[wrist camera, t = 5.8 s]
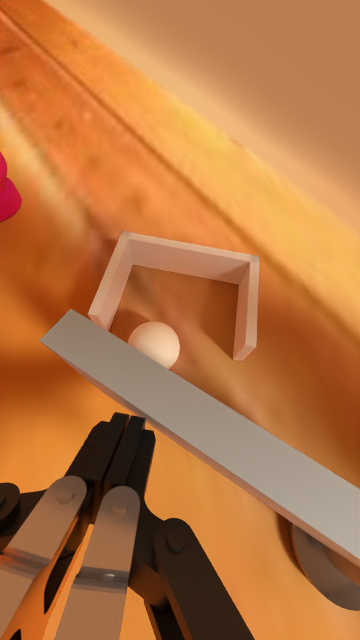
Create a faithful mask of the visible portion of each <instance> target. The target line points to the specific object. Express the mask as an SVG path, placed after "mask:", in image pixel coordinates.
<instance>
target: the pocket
mask: <svg viewBox="0 0 360 640" xmlns="http://www.w3.org/2000/svg"><path fill="white" fill-rule="evenodd" d="M259 260H260V256H255V255H249V254H244V253H239V252H233V251H228V250H223V249H217V248H212V247H207V246H201V245H196V244H191V243H185V242H180V241H175V240H169V239H164V238H159V237H153V236H148V235H143V234H137V233H132V232H126V231H122V233H121V235H120V238H119V240H118V243H117V245H116V247H115V250H114V252H113V254H112V257H111V259H110V262H109V264H108V266H107V269H106V271H105V274H104V276H103V278H102V281H101V283H100V286H99V288H98V290H97V293H96V295H95V298H94V300H93V302H92V305H91V307H90V309H89V312H88V315H89V317H90V319H91V321H92V322H94V323H95V324H97V325H99V326H100V327H102V328H103V329H105V330H107V331H108V332H109V330H110V327H111V325H112V322H113V319H114V316H115V313H116V311H117V308H118V305H119V302H120V299H121V297H122V294H123V291H124V288H125V285H126V283H127V280H128V277H129V274H130V271H131V268H132V266H133V265H138V266H143V267H148V268H154V269H159V270H164V271H169V272H175V273H180V274H185V275H190V276H196V277H201V278H206V279H211V280H217V281H222V282H227V283H232V284H238V285H239V290H238V302H237V314H236V326H235V338H234V350H233V360H237V361H243V360H244V359H245V358H246V357H247V356H248V355H249V354H250V353H251V352H252V351H253V350H254V349H255V348H256V342H257V314H258V287H259Z"/></svg>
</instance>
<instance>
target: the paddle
mask: <svg viewBox="0 0 360 640" xmlns="http://www.w3.org/2000/svg"><path fill="white" fill-rule="evenodd" d="M39 341H40V342H41V343H43V344H44V345H45V346H46V347H48V348H49V349H50V350H51V351H53V352H54V353H55V354H56V355H57V356H59V357H60V358H61V359H62V360H64V361H65V362H66V363H67V364H69V365H70V366H71V367H72V368H74V369H75V370H76V371H77V372H78V373H80V374H81V375H82V376H83V377H85V378H86V379H87V380H88V381H90V382H91V383H92V384H93V385H95V386H96V387H97V388H98V389H99V390H101V391H102V392H103V393H105V394H106V395H108V396H109V397H111V398H112V399H113V400H115V401H116V402H118V403H119V404H121V405H122V406H124V407H125V408H127V409H128V410H129V411H131V412H132V413H134V414H135V415H137V416H138V417H143V418H146V421H145V422H147V423H148V424H150V425H151V426H153V427H154V428H156V429H157V430H158V431H160V432H161V433H163V434H164V435H166V436H167V437H169V438H170V439H171V440H173V441H174V442H176V443H177V444H179V445H180V446H182V447H183V448H185V449H186V450H187V451H189V452H190V453H192V454H193V455H195V456H196V457H198V458H199V459H200V460H202V461H203V462H205V463H206V464H208V465H209V466H211V467H212V468H213V469H215V470H216V471H218V472H219V473H221V474H222V475H224V476H225V477H227V478H228V479H229V480H231V481H232V482H234V483H235V484H237V485H238V486H240V487H241V488H242V489H244V490H245V491H247V492H248V493H250V494H251V495H253V496H254V497H256V498H257V499H258V500H260V501H261V502H263V503H264V504H266V505H267V506H269V507H270V508H271V509H273V510H274V511H276V512H277V513H279V514H280V515H282V516H283V517H285V518H286V519H287V520H289V521H290V522H292V523H293V524H295V525H296V526H298V527H299V528H300V529H302V530H303V531H305V532H306V533H308V534H309V535H311V536H312V537H314V538H315V539H316V540H318V541H319V542H321V543H322V545H323V549H324V551H325V554H326V556H327V558H328V559H329V561H330V562H331V564H332V565H333V566H334V567H335V568H336V569H337V570H338V571H340V572H341V573H342V574H344V575H345V576H346V577H348V578H349V579H350V580H352V581H353V582H355V583H356V584H357V585H359V586H360V489H359V488H357V487H355V486H354V485H352V484H351V483H349V482H348V481H346V480H344V479H343V478H341V477H340V476H338V475H336V474H335V473H333V472H332V471H330V470H328V469H327V468H325V467H324V466H322V465H320V464H319V463H317V462H316V461H314V460H312V459H311V458H309V457H308V456H306V455H304V454H303V453H301V452H300V451H298V450H296V449H295V448H293V447H292V446H290V445H288V444H287V443H285V442H284V441H282V440H280V439H279V438H277V437H276V436H274V435H272V434H271V433H269V432H268V431H266V430H265V429H263V428H261V427H260V426H258V425H257V424H255V423H253V422H252V421H250V420H249V419H247V418H245V417H244V416H242V415H241V414H239V413H237V412H236V411H234V410H233V409H231V408H229V407H228V406H226V405H225V404H223V403H221V402H220V401H218V400H217V399H215V398H213V397H212V396H210V395H209V394H207V393H205V392H204V391H202V390H201V389H199V388H197V387H196V386H194V385H193V384H191V383H190V382H188V381H186V380H185V379H183V378H182V377H180V376H178V375H177V374H175V373H174V372H172V371H170V370H169V369H167V368H166V367H164V366H162V365H161V364H159V363H158V362H156V361H154V360H153V359H151V358H150V357H148V356H146V355H145V354H143V353H142V352H140V351H138V350H137V349H135V348H134V347H132V346H130V345H129V344H127V343H126V342H124V341H122V340H121V339H119V338H118V337H116V336H115V335H113V334H111V333H110V332H108V331H107V330H105V329H103V328H102V327H100V326H99V325H97V324H95V323H94V322H92V321H91V320H89V319H87V318H86V317H84V316H83V315H81V314H79V313H78V312H76V311H75V310H73V309H70V310H69V311H68V312H67V313H66V314H65V315H64V316H63V317H62V318H61V319H60V320H59V321H58V322H57V323H56V324H55V325H54V326H53V327H52V328H51V329H50V330H49V331H48V332H47V333H46V334H45V335H44V336H43V337H42V338H41V339H40V340H39Z"/></svg>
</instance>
